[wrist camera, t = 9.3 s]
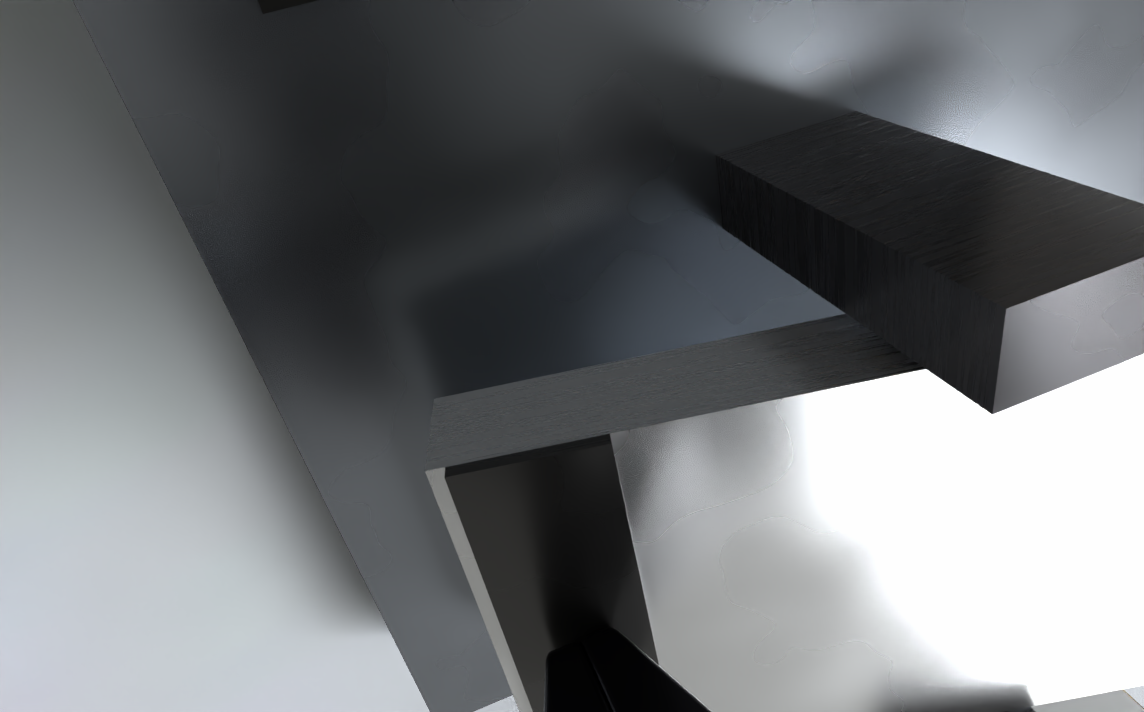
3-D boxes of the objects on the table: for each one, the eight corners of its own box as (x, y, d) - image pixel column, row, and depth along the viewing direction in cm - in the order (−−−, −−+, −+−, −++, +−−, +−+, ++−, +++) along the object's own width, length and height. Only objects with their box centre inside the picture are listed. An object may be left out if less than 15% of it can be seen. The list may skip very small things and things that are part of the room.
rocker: (1466, 184, 8) (1626, 236, 7) (1287, 573, 11) (1377, 653, 10) (433, 398, 8) (423, 481, 7) (548, 714, 12) (553, 807, 10)
